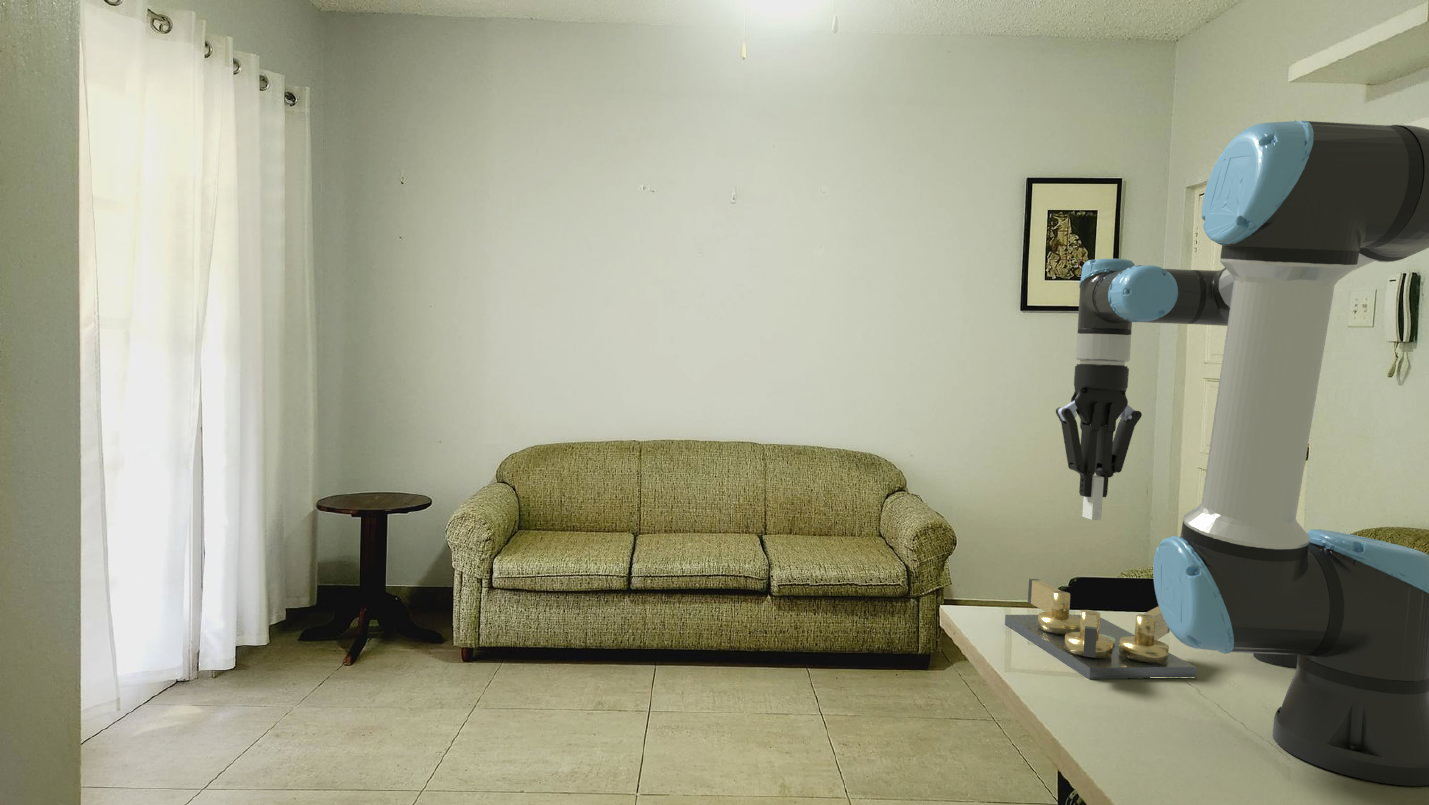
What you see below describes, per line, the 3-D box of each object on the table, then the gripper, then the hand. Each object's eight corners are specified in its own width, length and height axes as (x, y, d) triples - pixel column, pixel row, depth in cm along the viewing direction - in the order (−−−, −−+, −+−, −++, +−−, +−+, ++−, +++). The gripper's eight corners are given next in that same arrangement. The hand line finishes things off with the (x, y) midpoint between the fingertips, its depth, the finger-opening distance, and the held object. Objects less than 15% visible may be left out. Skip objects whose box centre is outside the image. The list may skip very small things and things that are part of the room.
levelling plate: (1195, 678, 120) (1197, 660, 120) (1089, 679, 118) (1090, 660, 118) (1095, 624, 144) (1096, 609, 144) (1004, 624, 142) (1005, 609, 142)
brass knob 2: (1064, 641, 129) (1067, 604, 128) (1111, 647, 126) (1113, 610, 126) (1063, 665, 118) (1065, 625, 118) (1114, 673, 116) (1116, 632, 115)
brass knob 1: (1089, 634, 132) (1091, 598, 132) (1050, 634, 131) (1052, 598, 131) (1049, 612, 144) (1051, 579, 143) (1013, 611, 143) (1015, 578, 142)
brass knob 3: (1159, 665, 119) (1162, 626, 119) (1112, 654, 123) (1114, 615, 123) (1186, 647, 128) (1188, 610, 128) (1141, 637, 132) (1143, 601, 132)
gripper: (1127, 364, 143) (1117, 514, 145) (1049, 361, 141) (1039, 513, 143) (1157, 365, 136) (1145, 523, 137) (1074, 362, 134) (1064, 522, 135)
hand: (1091, 518), depth 140 cm, fingers closed
